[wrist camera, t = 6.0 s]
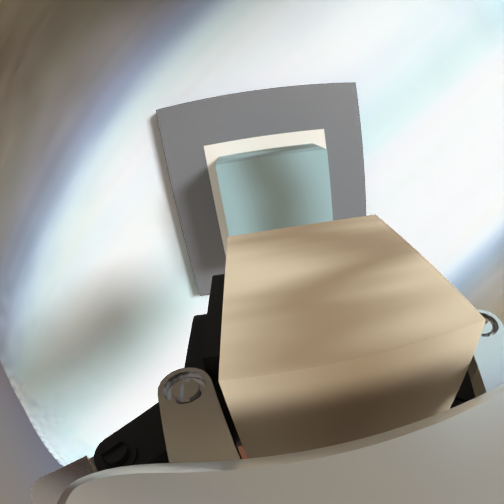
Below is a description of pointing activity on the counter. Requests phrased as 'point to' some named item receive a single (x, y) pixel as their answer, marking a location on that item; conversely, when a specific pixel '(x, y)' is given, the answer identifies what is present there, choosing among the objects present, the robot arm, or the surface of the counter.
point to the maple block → (337, 335)
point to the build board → (251, 139)
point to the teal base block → (275, 188)
